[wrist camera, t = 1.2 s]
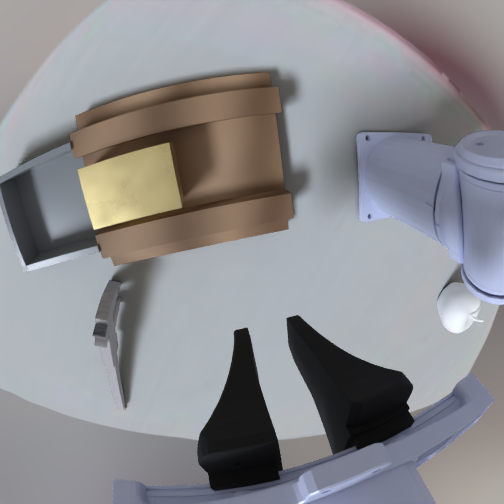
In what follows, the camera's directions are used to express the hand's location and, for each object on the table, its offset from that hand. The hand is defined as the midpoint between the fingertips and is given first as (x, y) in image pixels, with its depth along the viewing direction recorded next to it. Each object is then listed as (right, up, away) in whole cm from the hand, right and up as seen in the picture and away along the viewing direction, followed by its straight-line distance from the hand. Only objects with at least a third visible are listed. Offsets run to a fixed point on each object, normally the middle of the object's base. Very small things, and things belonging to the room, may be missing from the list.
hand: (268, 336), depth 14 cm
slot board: (-6, +11, +5) cm, 13 cm away
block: (-9, +9, +4) cm, 13 cm away
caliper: (-15, -7, +11) cm, 20 cm away
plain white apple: (+27, -2, +18) cm, 32 cm away
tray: (-17, +8, +4) cm, 19 cm away
